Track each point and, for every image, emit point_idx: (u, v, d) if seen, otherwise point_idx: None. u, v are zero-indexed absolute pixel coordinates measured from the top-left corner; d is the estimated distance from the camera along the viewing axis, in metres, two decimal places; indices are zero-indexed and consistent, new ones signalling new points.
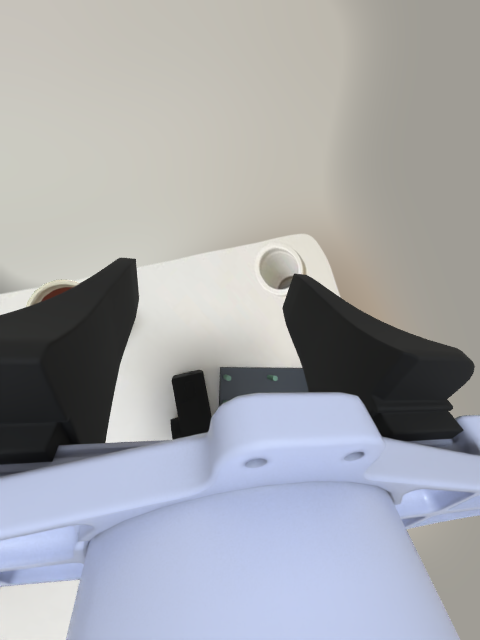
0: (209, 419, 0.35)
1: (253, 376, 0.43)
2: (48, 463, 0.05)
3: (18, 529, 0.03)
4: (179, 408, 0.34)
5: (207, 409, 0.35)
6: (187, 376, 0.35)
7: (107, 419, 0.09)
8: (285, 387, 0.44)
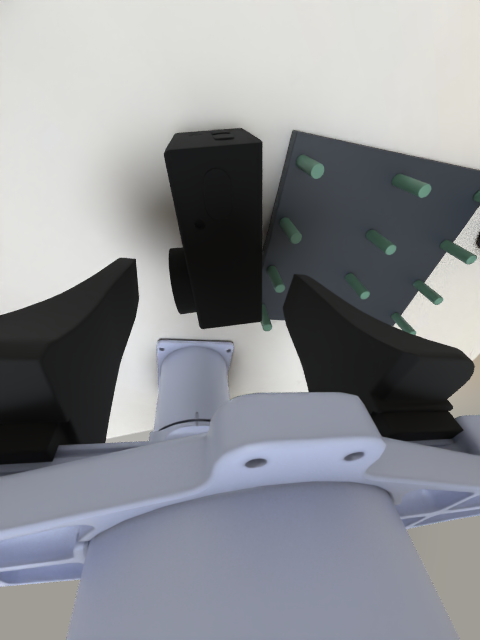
0: (256, 272, 0.15)
1: (364, 173, 0.18)
2: (48, 463, 0.05)
3: (18, 529, 0.03)
4: (189, 240, 0.14)
5: (255, 251, 0.14)
6: (213, 150, 0.11)
7: (107, 419, 0.09)
8: (416, 210, 0.20)
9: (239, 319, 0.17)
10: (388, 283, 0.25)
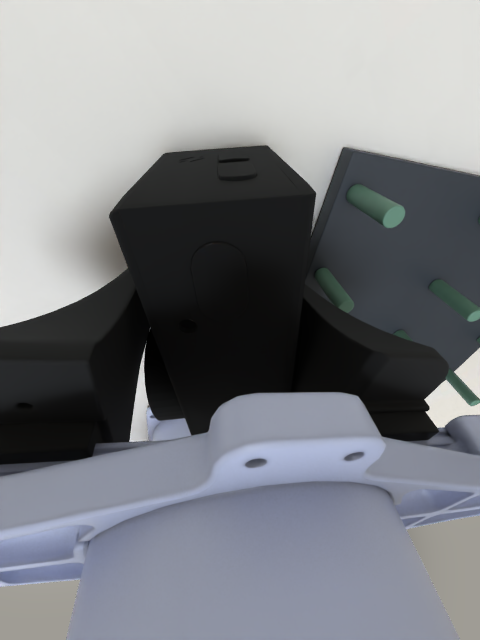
0: (282, 384, 0.09)
1: (442, 208, 0.12)
2: None
3: (17, 529, 0.03)
4: (170, 347, 0.08)
5: (284, 359, 0.09)
6: (211, 209, 0.05)
7: (131, 418, 0.09)
8: None
9: None
10: (446, 339, 0.19)
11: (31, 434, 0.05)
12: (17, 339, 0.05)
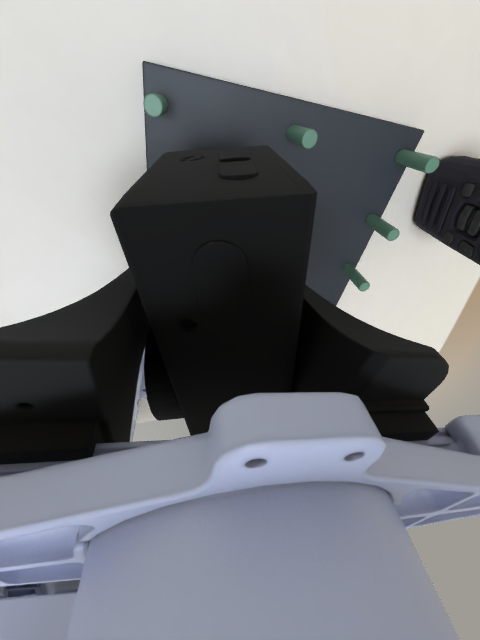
0: (282, 384, 0.09)
1: (247, 122, 0.15)
2: None
3: (18, 529, 0.03)
4: (170, 346, 0.08)
5: (284, 359, 0.09)
6: (212, 207, 0.05)
7: (131, 418, 0.09)
8: (326, 175, 0.17)
9: None
10: (312, 267, 0.21)
11: (31, 434, 0.05)
12: (17, 339, 0.05)
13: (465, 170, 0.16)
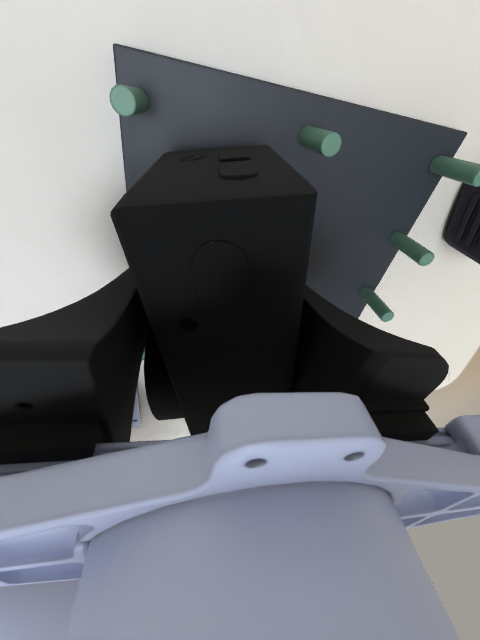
0: (282, 383, 0.09)
1: (249, 123, 0.12)
2: None
3: (18, 529, 0.03)
4: (170, 346, 0.08)
5: (284, 359, 0.09)
6: (212, 207, 0.05)
7: (131, 418, 0.09)
8: (345, 187, 0.14)
9: None
10: (324, 291, 0.18)
11: (31, 434, 0.05)
12: (18, 339, 0.05)
13: None
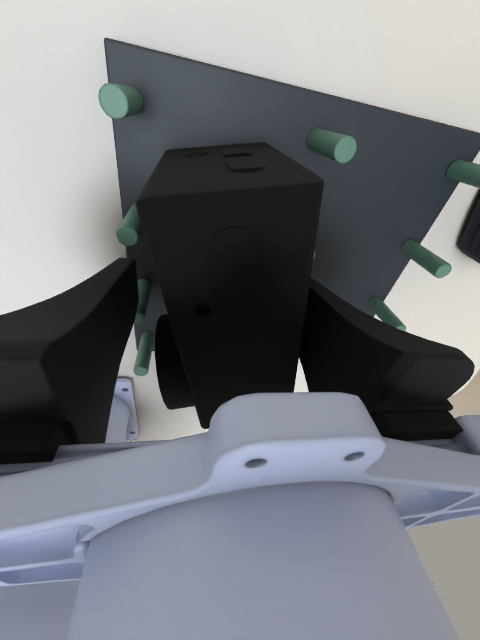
0: (289, 366, 0.10)
1: (254, 125, 0.11)
2: (48, 463, 0.05)
3: (17, 530, 0.03)
4: (185, 332, 0.08)
5: (291, 341, 0.09)
6: (230, 196, 0.06)
7: (107, 419, 0.09)
8: (356, 193, 0.13)
9: None
10: None
11: None
12: None
13: None
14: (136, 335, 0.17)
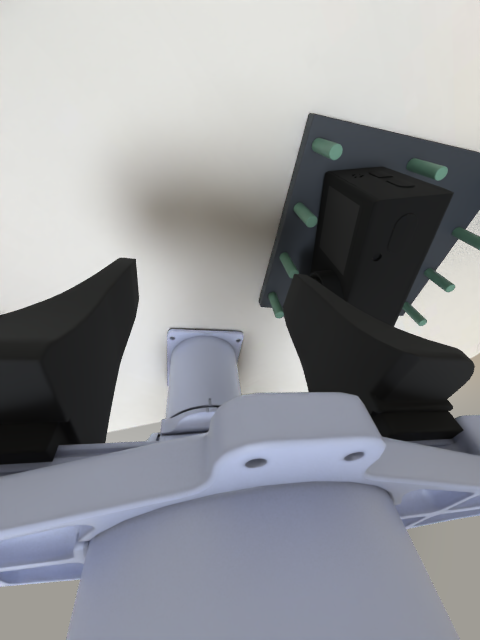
0: (404, 295, 0.17)
1: (379, 157, 0.18)
2: (48, 463, 0.05)
3: (17, 529, 0.03)
4: (362, 270, 0.16)
5: (411, 278, 0.17)
6: (414, 199, 0.13)
7: (107, 419, 0.09)
8: None
9: None
10: None
11: None
12: None
13: None
14: (264, 294, 0.25)
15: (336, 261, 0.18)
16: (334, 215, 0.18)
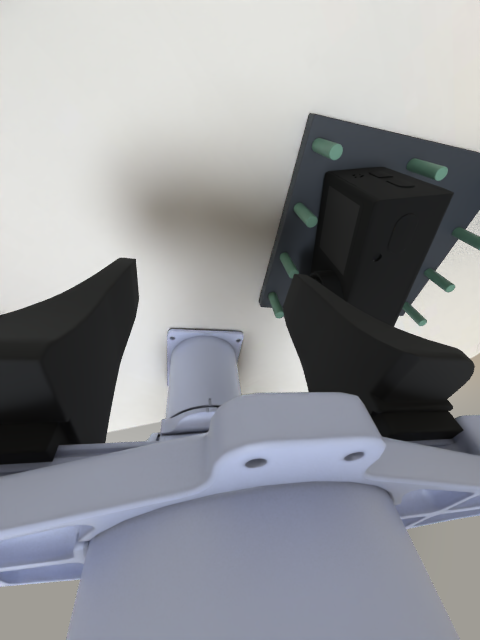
0: (404, 295, 0.17)
1: (379, 157, 0.18)
2: (48, 463, 0.05)
3: (18, 529, 0.03)
4: (362, 270, 0.16)
5: (411, 278, 0.17)
6: (414, 199, 0.13)
7: (107, 419, 0.09)
8: None
9: None
10: None
11: None
12: None
13: None
14: (264, 294, 0.25)
15: (336, 261, 0.18)
16: (334, 215, 0.18)
